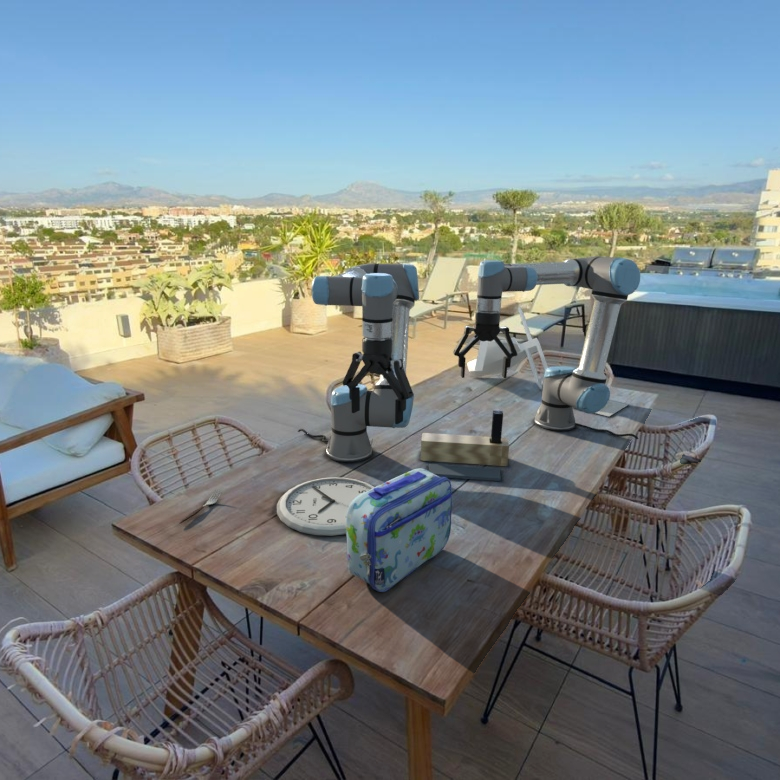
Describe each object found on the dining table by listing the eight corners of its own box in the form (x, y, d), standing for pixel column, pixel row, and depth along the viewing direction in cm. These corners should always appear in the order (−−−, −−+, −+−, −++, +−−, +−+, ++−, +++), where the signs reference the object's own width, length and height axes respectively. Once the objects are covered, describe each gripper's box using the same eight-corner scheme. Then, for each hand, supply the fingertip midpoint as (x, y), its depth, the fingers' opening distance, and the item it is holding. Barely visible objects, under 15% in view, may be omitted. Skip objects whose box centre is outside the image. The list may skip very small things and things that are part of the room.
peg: (498, 459, 173) (502, 410, 168) (499, 463, 170) (503, 414, 165) (489, 458, 174) (493, 410, 168) (489, 462, 171) (493, 413, 166)
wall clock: (392, 527, 129) (268, 531, 127) (391, 533, 130) (269, 537, 127) (383, 473, 158) (282, 475, 155) (383, 478, 158) (282, 480, 156)
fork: (175, 524, 132) (174, 517, 132) (215, 495, 146) (215, 489, 146) (183, 526, 131) (182, 519, 131) (223, 497, 146) (222, 490, 145)
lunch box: (374, 604, 105) (375, 512, 99) (340, 579, 113) (339, 492, 106) (455, 552, 123) (460, 471, 117) (421, 533, 130) (424, 456, 124)
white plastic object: (487, 418, 267) (468, 395, 242) (469, 346, 289) (449, 318, 264) (558, 394, 255) (545, 368, 230) (533, 321, 277) (518, 289, 252)
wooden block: (505, 457, 175) (507, 437, 173) (507, 466, 168) (509, 446, 166) (421, 451, 178) (422, 432, 176) (420, 460, 171) (421, 440, 169)
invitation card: (608, 416, 214) (573, 407, 224) (608, 416, 214) (573, 408, 224) (628, 404, 229) (594, 396, 238) (628, 405, 229) (594, 397, 238)
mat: (498, 471, 165) (499, 468, 164) (500, 481, 158) (501, 478, 158) (429, 466, 167) (429, 463, 167) (428, 476, 160) (428, 473, 160)
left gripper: (328, 333, 133) (330, 411, 140) (413, 347, 120) (410, 432, 127) (346, 328, 139) (347, 403, 146) (428, 341, 126) (425, 422, 133)
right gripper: (524, 310, 167) (518, 374, 174) (446, 309, 166) (443, 373, 173) (531, 313, 160) (524, 380, 166) (450, 312, 159) (446, 379, 165)
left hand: (376, 417), depth 137 cm, fingers open, 13 cm apart
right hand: (483, 376), depth 169 cm, fingers open, 13 cm apart
